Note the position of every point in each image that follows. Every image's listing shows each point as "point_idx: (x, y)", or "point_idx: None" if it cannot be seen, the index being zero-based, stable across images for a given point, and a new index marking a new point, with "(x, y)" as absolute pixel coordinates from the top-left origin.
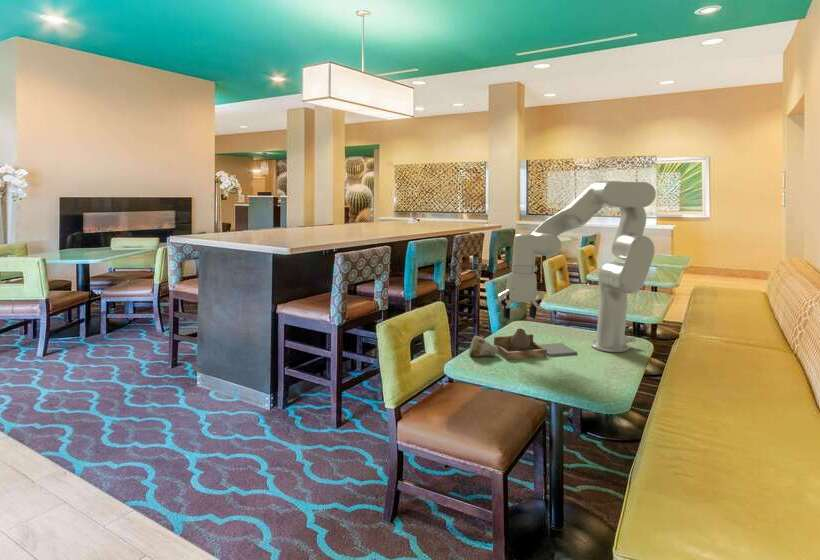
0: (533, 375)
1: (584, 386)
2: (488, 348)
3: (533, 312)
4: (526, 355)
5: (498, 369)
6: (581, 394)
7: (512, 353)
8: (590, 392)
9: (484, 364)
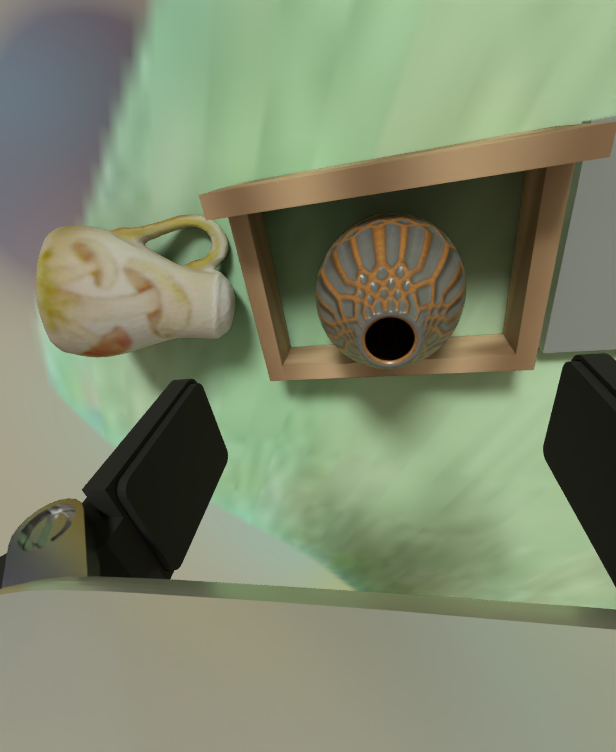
0: (332, 507)
1: (448, 587)
2: (170, 339)
3: (580, 520)
4: None
5: None
6: None
7: (302, 376)
8: None
9: None
